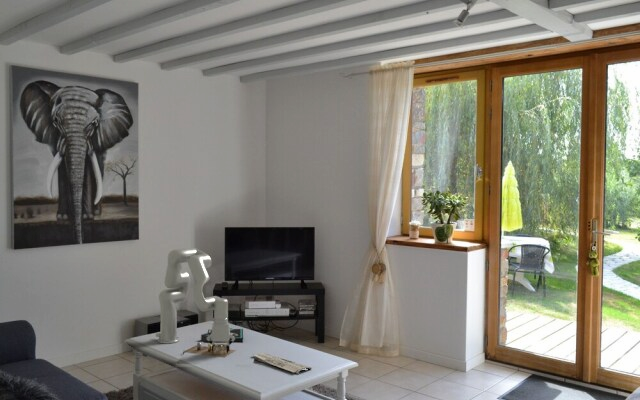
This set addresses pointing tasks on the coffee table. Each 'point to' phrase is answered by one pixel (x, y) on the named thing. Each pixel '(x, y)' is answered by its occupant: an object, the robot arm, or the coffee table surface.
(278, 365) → the newspaper
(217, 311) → the robot arm
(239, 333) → the wall plaque
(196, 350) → the board
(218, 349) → the frame
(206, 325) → the coffee table surface
